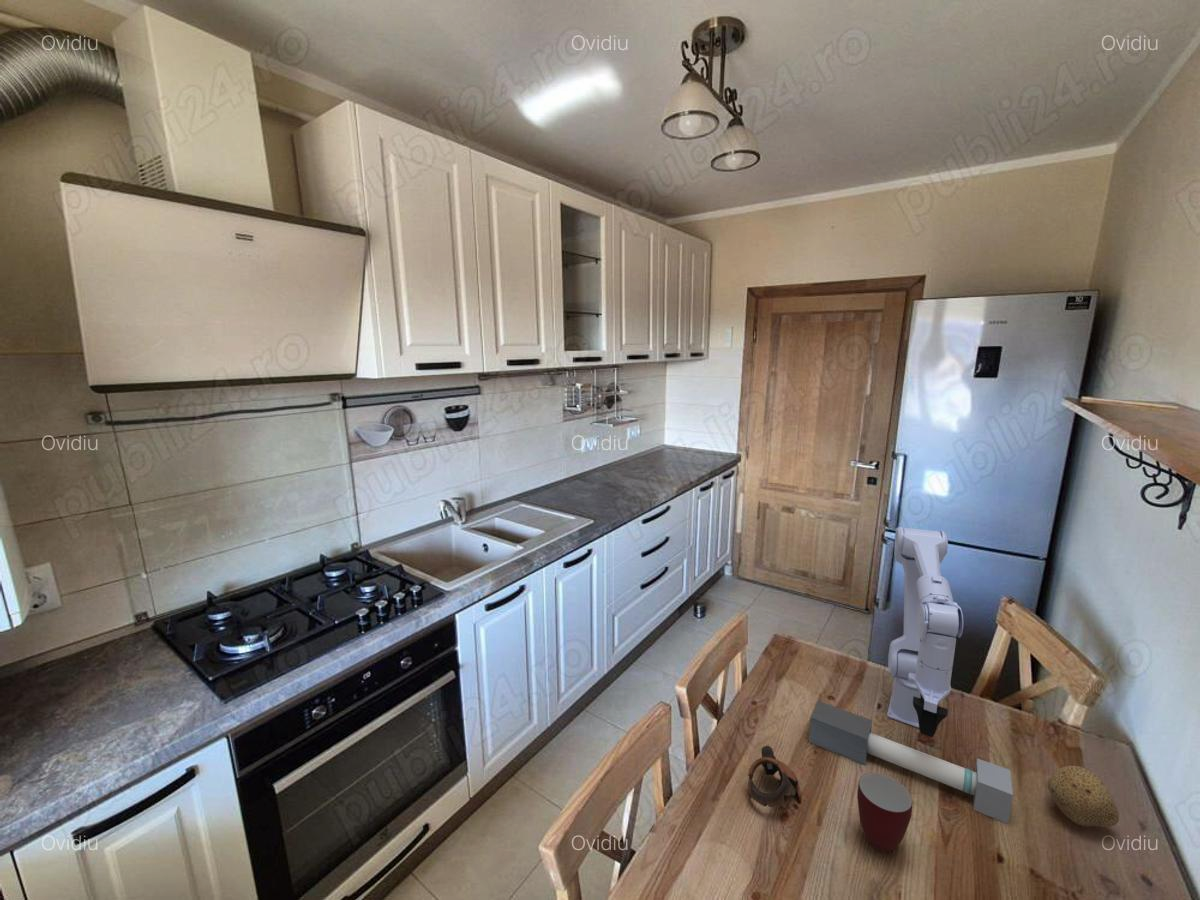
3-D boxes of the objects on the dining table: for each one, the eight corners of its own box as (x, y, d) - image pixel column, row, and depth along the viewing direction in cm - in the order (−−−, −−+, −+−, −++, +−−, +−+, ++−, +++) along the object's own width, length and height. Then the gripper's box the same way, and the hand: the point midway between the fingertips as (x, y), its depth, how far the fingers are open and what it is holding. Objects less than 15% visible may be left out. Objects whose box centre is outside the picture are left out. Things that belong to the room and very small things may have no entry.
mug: (842, 805, 93) (846, 759, 92) (888, 810, 92) (893, 763, 91) (863, 860, 83) (869, 809, 81) (915, 867, 82) (922, 815, 80)
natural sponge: (1032, 792, 96) (1039, 747, 94) (1088, 802, 94) (1097, 756, 92) (1061, 835, 87) (1070, 786, 85) (1124, 848, 85) (1135, 798, 83)
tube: (851, 751, 105) (853, 734, 104) (855, 739, 108) (856, 723, 108) (989, 807, 92) (992, 787, 91) (988, 791, 95) (991, 772, 94)
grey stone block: (808, 742, 109) (810, 717, 108) (815, 724, 114) (817, 700, 113) (865, 765, 103) (867, 739, 102) (869, 745, 108) (872, 720, 107)
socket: (973, 809, 92) (977, 781, 91) (973, 785, 98) (976, 758, 96) (1008, 824, 89) (1013, 795, 88) (1005, 798, 95) (1010, 770, 94)
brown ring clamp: (813, 817, 92) (799, 793, 89) (764, 831, 93) (749, 808, 90) (790, 753, 103) (777, 730, 99) (746, 767, 104) (732, 744, 101)
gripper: (913, 638, 106) (906, 695, 108) (908, 673, 94) (901, 736, 97) (953, 648, 102) (945, 707, 105) (953, 687, 90) (945, 752, 93)
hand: (927, 722), depth 100 cm, fingers open, 7 cm apart
